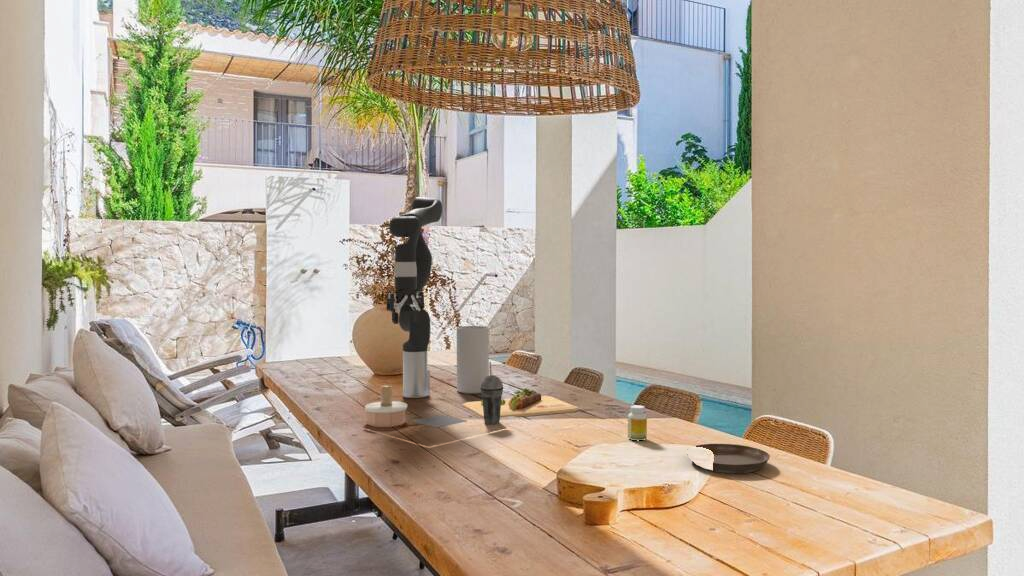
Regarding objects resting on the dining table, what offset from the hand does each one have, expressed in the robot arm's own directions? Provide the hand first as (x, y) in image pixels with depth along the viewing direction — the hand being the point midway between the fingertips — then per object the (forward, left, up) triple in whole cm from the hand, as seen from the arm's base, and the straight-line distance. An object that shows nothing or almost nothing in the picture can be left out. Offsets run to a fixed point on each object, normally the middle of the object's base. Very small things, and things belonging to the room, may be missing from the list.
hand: (405, 322), depth 251 cm
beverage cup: (-6, +36, -30) cm, 47 cm away
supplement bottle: (-23, +79, -30) cm, 88 cm away
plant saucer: (-18, +110, -31) cm, 116 cm away
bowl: (+17, +12, -30) cm, 37 cm away
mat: (+4, +22, -30) cm, 37 cm away
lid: (+17, +12, -25) cm, 33 cm away
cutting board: (-30, +26, -31) cm, 50 cm away
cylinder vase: (-40, -10, -30) cm, 51 cm away
